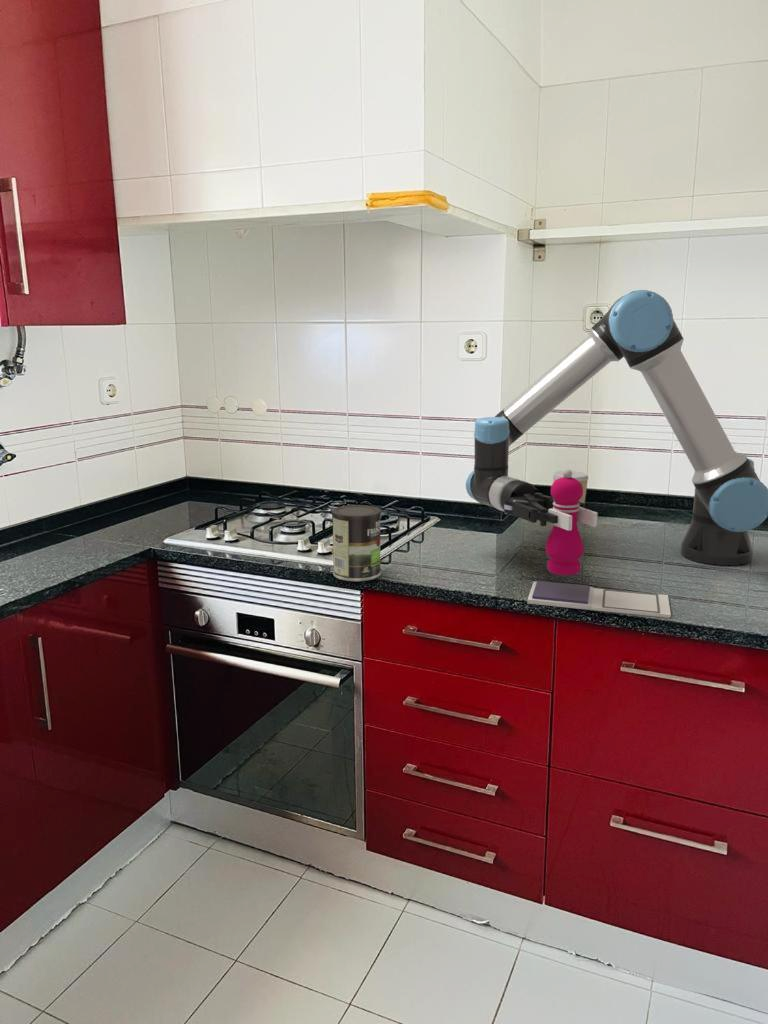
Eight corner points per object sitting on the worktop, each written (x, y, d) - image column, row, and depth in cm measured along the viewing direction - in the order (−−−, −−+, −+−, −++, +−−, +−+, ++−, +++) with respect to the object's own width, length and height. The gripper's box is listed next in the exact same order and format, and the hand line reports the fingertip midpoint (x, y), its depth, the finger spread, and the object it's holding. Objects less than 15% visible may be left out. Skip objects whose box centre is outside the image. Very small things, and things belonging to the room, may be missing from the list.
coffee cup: (575, 511, 222) (577, 469, 219) (592, 519, 213) (594, 476, 210) (545, 513, 220) (547, 471, 217) (560, 521, 211) (563, 478, 208)
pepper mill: (555, 577, 149) (559, 474, 144) (538, 566, 155) (541, 467, 151) (589, 573, 151) (594, 471, 146) (570, 563, 157) (575, 464, 153)
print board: (667, 598, 154) (667, 594, 154) (670, 618, 144) (670, 614, 144) (593, 590, 158) (594, 587, 158) (591, 610, 148) (591, 606, 147)
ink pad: (593, 590, 158) (594, 584, 157) (591, 610, 148) (592, 603, 147) (533, 585, 161) (533, 579, 161) (527, 603, 151) (527, 597, 151)
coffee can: (388, 569, 171) (388, 506, 168) (369, 584, 162) (369, 518, 158) (344, 564, 175) (344, 502, 171) (324, 578, 165) (323, 513, 162)
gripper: (549, 509, 171) (620, 535, 150) (477, 519, 164) (541, 547, 143) (550, 475, 169) (623, 496, 148) (477, 483, 162) (542, 507, 141)
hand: (582, 521), depth 146 cm, fingers closed on pepper mill, 5 cm apart
